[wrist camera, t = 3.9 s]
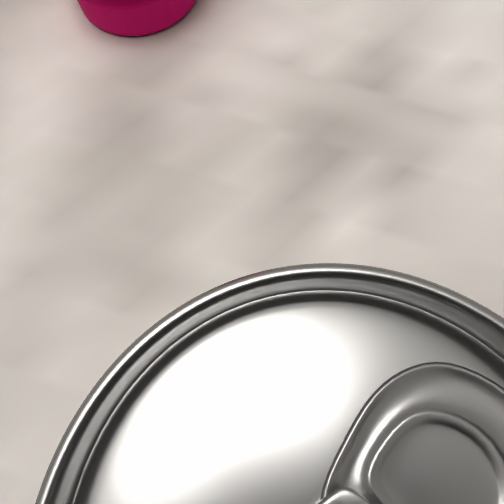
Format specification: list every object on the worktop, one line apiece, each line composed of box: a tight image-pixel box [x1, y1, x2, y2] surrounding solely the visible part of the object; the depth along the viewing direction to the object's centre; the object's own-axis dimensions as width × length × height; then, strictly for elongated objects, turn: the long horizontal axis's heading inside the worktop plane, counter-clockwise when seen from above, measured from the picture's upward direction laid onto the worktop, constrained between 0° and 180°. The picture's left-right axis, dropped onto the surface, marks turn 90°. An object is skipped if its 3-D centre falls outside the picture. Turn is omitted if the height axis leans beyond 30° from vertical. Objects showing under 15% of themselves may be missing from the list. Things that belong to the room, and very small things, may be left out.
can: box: [35, 263, 504, 504], centre depth 9 cm, size 6×6×12 cm
